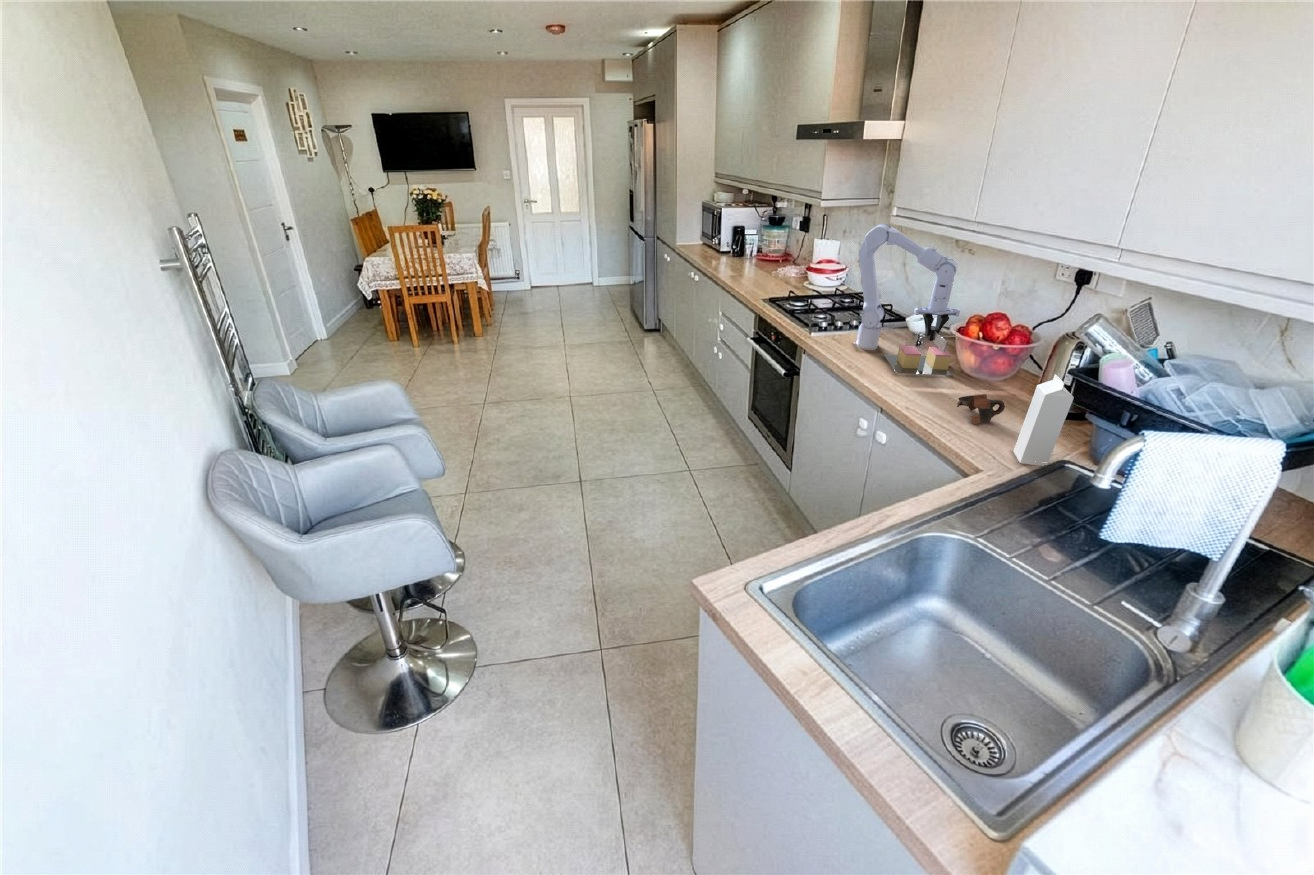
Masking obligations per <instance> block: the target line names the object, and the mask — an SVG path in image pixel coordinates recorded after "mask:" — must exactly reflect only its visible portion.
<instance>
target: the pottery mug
mask: <svg viewBox="0 0 1314 875" xmlns="http://www.w3.org/2000/svg"><path fill="white" fill-rule="evenodd" d="M957 400H958V402H957V403H956V408H959V407H960V406H961V407H962V406H963V407H967V408H968V409H969V411H975V410H976V409H977V410H978V414H976V415H972V416H971V417H970V418H971V424H973V425H974V424H975V425H976V424H990V423H991V420H992V419H993V418H994V417H995V416H997V415H1000V414H1002V413H1003V411H1005V408H1006V405H1005V402H1004V401H1003V400H1001V399H990V398H988V394H987V393H981V394H973V395H964V396H959V397H958V398H957ZM996 405H998V408H997V409H994V407H995V406H996Z"/></svg>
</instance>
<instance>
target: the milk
mask: <svg viewBox="0 0 1314 875" xmlns="http://www.w3.org/2000/svg"><path fill="white" fill-rule="evenodd" d="M1074 398H1075V397H1074V395H1072V394H1071V393H1070V391H1069V390H1067V388H1066V387H1065V382H1064V380H1062V379H1061V378H1060V377H1059V376H1058V374H1054V376H1053V377H1052V379H1051V380H1048V381H1045V382H1042V383H1039V384H1037V385H1036V388H1035V390H1034V393H1033V396H1032V398H1031V401H1030V404H1029V406H1028V410H1027V413H1026V414H1025V418H1024V420H1023V424H1022V426H1021V429H1020V431H1019V435H1018V438H1017V440H1016V443H1015V446H1014V449H1013V454H1014V455H1015V458H1016V459H1017V461H1018V462H1019V464H1023V465H1029V466H1040V467H1045V466H1044V465H1047V466H1048V464H1049V461H1050V459H1051V457H1052V454H1053V451H1054V449H1055V446H1056V443H1057V441H1058V439H1059V437H1060V434H1061V432H1062V428H1063V426H1064V423H1065V421H1066V418H1067V416H1068V414H1069V411H1070V408H1071V406H1072V404H1073V401H1074ZM1035 461H1036V462H1035ZM1041 462H1048V463H1041Z"/></svg>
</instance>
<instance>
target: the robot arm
mask: <svg viewBox="0 0 1314 875" xmlns="http://www.w3.org/2000/svg"><path fill="white" fill-rule="evenodd" d="M885 243H886V244H885ZM884 244H885V245H886V246H898V247H900V248H902V249H903V250H905V251H907V252H908V253H909V254H911V255H914V256H915V257H916V260H917V261H916V262H917V263H918V264H920V265H921V266H923V267H925V268H926V269H927V270H929V271H931V272H932V273H935V276H936V278H935V281H934V284H933V288H932V292H931V296H930V302H929V305H928V306H927V307H915V308H914V311H913V314H914V315H915V316H919V315H920V316H921V315H922V318H923V322H924V329H925V331H924V334H926V335H927V336H929V333H930V329H931V326H933V322H934V320H935V318H934V316H936V322H935V327H936V328H937V329H938V330H939V332H938V334H940V332H941V330H942V329H943V327H944V326H945V324H947V322H949V320H950V316H953V317H954V316H955V317H959V316H960V313H961V310H960V309H959V308H949V307H948V306H949V303H950V298H951V294H952V289H953V286H954V280H955V276H956V275H957V272H958V265H957V262H956V261H955V260H954V259H953V258H949V256H946V255H945V256H944V255H943V254H941V253H940V252H938V251H937V248H935V247H934V246H933V247H930V246H927V247H923V246H921V245H920V244H918V243H917V242H916V241H914V240H913V239H911V238H910V237H909V236H907V235H905V234H904V233H903V232H901V231H900V230H898V229H897V228H896V227H893V226H891V225H889V224H888V223H879V224H878V225H876V226H875V227H873V228H871V229H870V231H868V232H867V233H866V235H865V236H864V239H863V242H862V243H861V245H860V248H859V249H858V262H859V269H860V278H861V288H862V297H863V306H862V315H861V323H860V325H859V327H858V330H857V336H856V341H854V342H853V344H854V345H856V346H857V348H859V349H861V350H865V351H875V350H877V349H878V347H879V346H878V345H879V341H880V337H881V332H882V323H881V320H882V319H883V318H884V317H885V309H884V308H883V307H882V304H881V300H880V298H879V290H878V282H877V281H878V280H877V272H876V271H877V270H876V263H875V253H876V252H877V251H878V250H879V249H880V247H881V246H882V245H884Z"/></svg>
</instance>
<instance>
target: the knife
mask: <svg viewBox="0 0 1314 875" xmlns="http://www.w3.org/2000/svg"><path fill="white" fill-rule="evenodd" d="M938 332H939V330H938V329H937V328H936V325H932V326H931V329H930V333H929V336H927V335H926V334H925V333H924V334H925V335H924V337H925V338H926V339H927V340H928V342H932V343H933V344H934V345H936V347H939V348H940V349H941V350H942V351H943V352H945V351H946V350H947V347H948V343H949V342H948V341H947V339H945V337H943V336H942V335H941V334H940V332H939V334H938Z"/></svg>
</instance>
